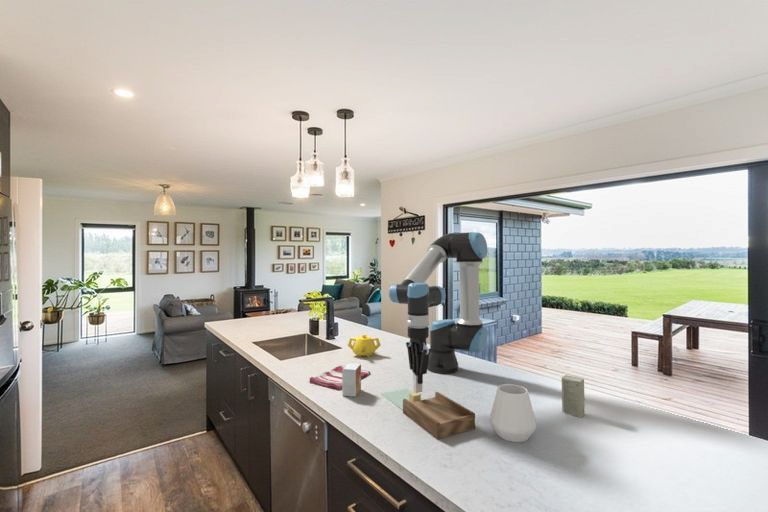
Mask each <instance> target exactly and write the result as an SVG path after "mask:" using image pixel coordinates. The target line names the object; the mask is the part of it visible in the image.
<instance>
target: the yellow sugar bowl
mask: <svg viewBox="0 0 768 512" xmlns="http://www.w3.org/2000/svg"><path fill="white" fill-rule="evenodd" d="M352 342H353V344H352ZM375 342H376V344H375ZM347 346H348V347H349V348H350V349H351V350H352V352H353V354H354V355H356V358H361V357H364V356H366V357H367V358H371V355H373V354H375V352H376V350H378V349H379V348H380V347H381V342H380V339H379V337H373V338H372V337H371V336H368V335H367V334H365V333H364V334H361V336H357V337H356V338H355V337H349V340H348V343H347Z"/></svg>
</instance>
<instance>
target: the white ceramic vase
mask: <svg viewBox="0 0 768 512" xmlns="http://www.w3.org/2000/svg"><path fill="white" fill-rule="evenodd" d="M529 393H530V392H529V390H528V389H527V388H526V387H524V386H521V385H519V384H513V383H504V384H500V385H498V386H497V387H496V393H495V396H494V399H493V403H492V408H491V410H490V414H489V421H490V424H491V426H492V427H493V429H494V431H495V433H496V434H497V436H498V437H499V438H501V439H503V440H505V441H508V442H511V441H512V442H513V443H523V441H524V442H526V441H528V440H529V439H528V438H530V437H531V436H532V434H534V432H535V431H536V429H537V424H536V423H537V422H536V417H535V414H534V410H533V406H532V402H531V401H532V400H531V398H530V394H529Z"/></svg>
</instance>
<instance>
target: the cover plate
mask: <svg viewBox="0 0 768 512" xmlns="http://www.w3.org/2000/svg"><path fill="white" fill-rule="evenodd" d="M380 395H381V396H382V397H384V398H385V399H387V400H388V401H389V402H390V403H392V404H393V405H395V406H396V407H397V408H398V409H400V410H401V411H403V399H407V400H408V401H409V402H416V401H420V400H425V399H424V397H422V395H421V393H420V392H419V393H415V392H414V391H412V390H410V389H409V388H408V387H407V388H402V389H397V390H393V391H392V390H391V391H387V392H382V393H380Z"/></svg>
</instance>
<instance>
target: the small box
mask: <svg viewBox="0 0 768 512" xmlns="http://www.w3.org/2000/svg"><path fill="white" fill-rule="evenodd" d="M344 366H345V367H344V368H343V369H342V389H341V390H342V391H341V392H342V396H343V397H355V398H356V397H357V396H358V394H360V392H361V390H362V379H361V370H362V364H361V363H350V362H349V363H347V364H346V365H344Z"/></svg>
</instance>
